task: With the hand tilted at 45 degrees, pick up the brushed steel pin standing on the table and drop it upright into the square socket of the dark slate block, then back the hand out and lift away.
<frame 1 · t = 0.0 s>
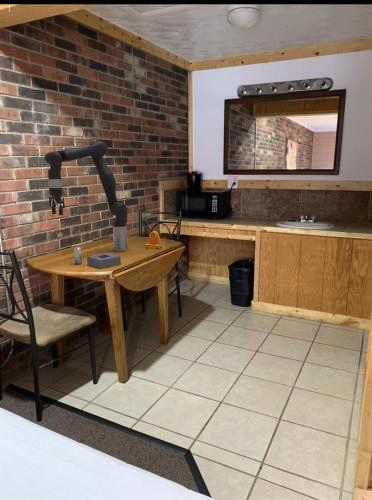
hand: (57, 214, 217), 29 cm above the table, tool pointing down, fingers open, 8 cm apart
steel pin: (78, 264, 219), on the table
socket block: (104, 264, 219), on the table
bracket: (153, 248, 265), on the table
flower in vase: (119, 239, 297), on the table
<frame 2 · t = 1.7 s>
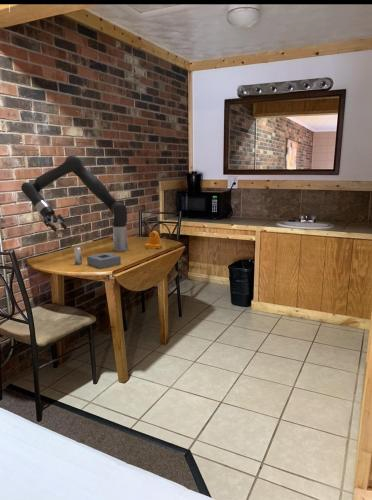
hand: (61, 229, 219), 20 cm above the table, tool tilted 45°, fingers open, 8 cm apart
nothing on the table moved.
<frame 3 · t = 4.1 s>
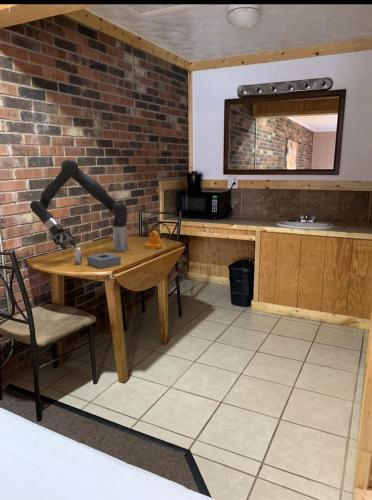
hand: (70, 247, 219), 10 cm above the table, tool tilted 45°, fingers open, 8 cm apart
nothing on the table moved.
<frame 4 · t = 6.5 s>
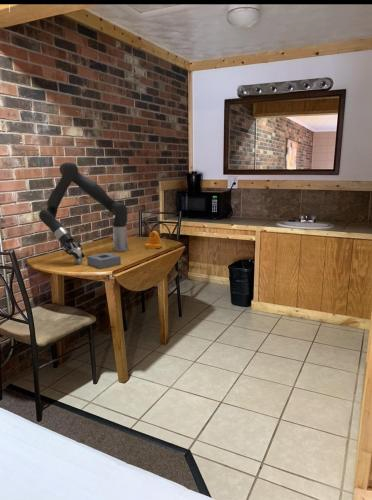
hand: (80, 257, 218), 4 cm above the table, tool tilted 45°, fingers closed on steel pin, 4 cm apart
steel pin: (78, 264, 219), on the table, touching gripper
everything else where it was.
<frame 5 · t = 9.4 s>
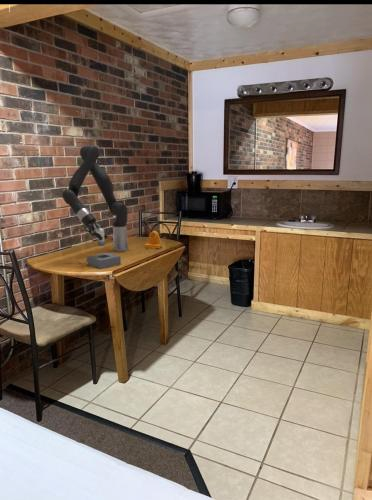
hand: (103, 238, 214), 16 cm above the table, tool tilted 45°, fingers closed on steel pin, 4 cm apart
steel pin: (101, 245, 216), point 12 cm above the table, touching gripper
everything else where it was.
when the fingers open (6 cm above the table, at t = 12.2 s): steel pin drops 2 cm, resting on socket block.
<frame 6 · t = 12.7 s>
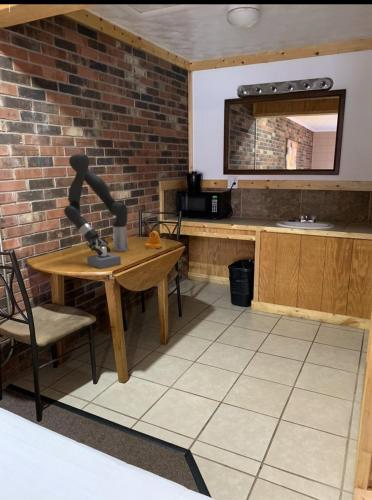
hand: (105, 253, 216), 7 cm above the table, tool tilted 45°, fingers open, 8 cm apart
steel pin: (103, 263, 218), point 1 cm above the table, touching socket block
everything else where it was.
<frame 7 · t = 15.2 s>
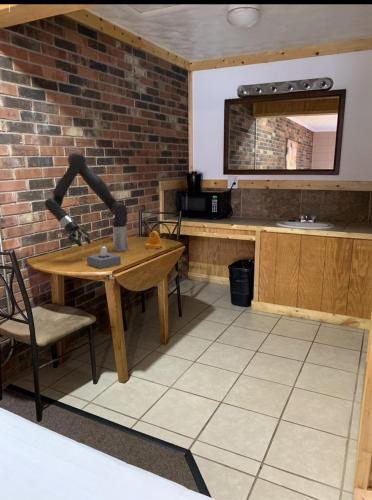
hand: (85, 244, 222), 11 cm above the table, tool tilted 45°, fingers open, 8 cm apart
nothing on the table moved.
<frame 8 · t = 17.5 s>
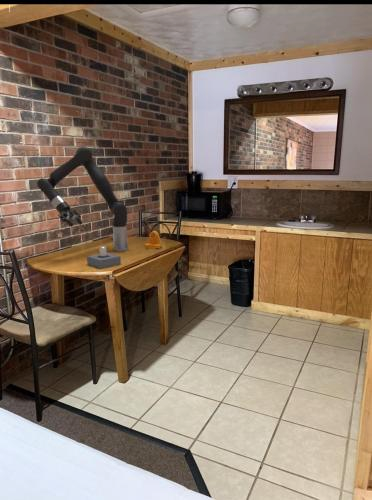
hand: (77, 224, 222), 23 cm above the table, tool tilted 45°, fingers open, 8 cm apart
nothing on the table moved.
at the end: steel pin 0.1 cm off-centre on the socket block, point 0.9 cm above the socket block's base; steel pin tilted 2°; the gripper is holding nothing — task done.
